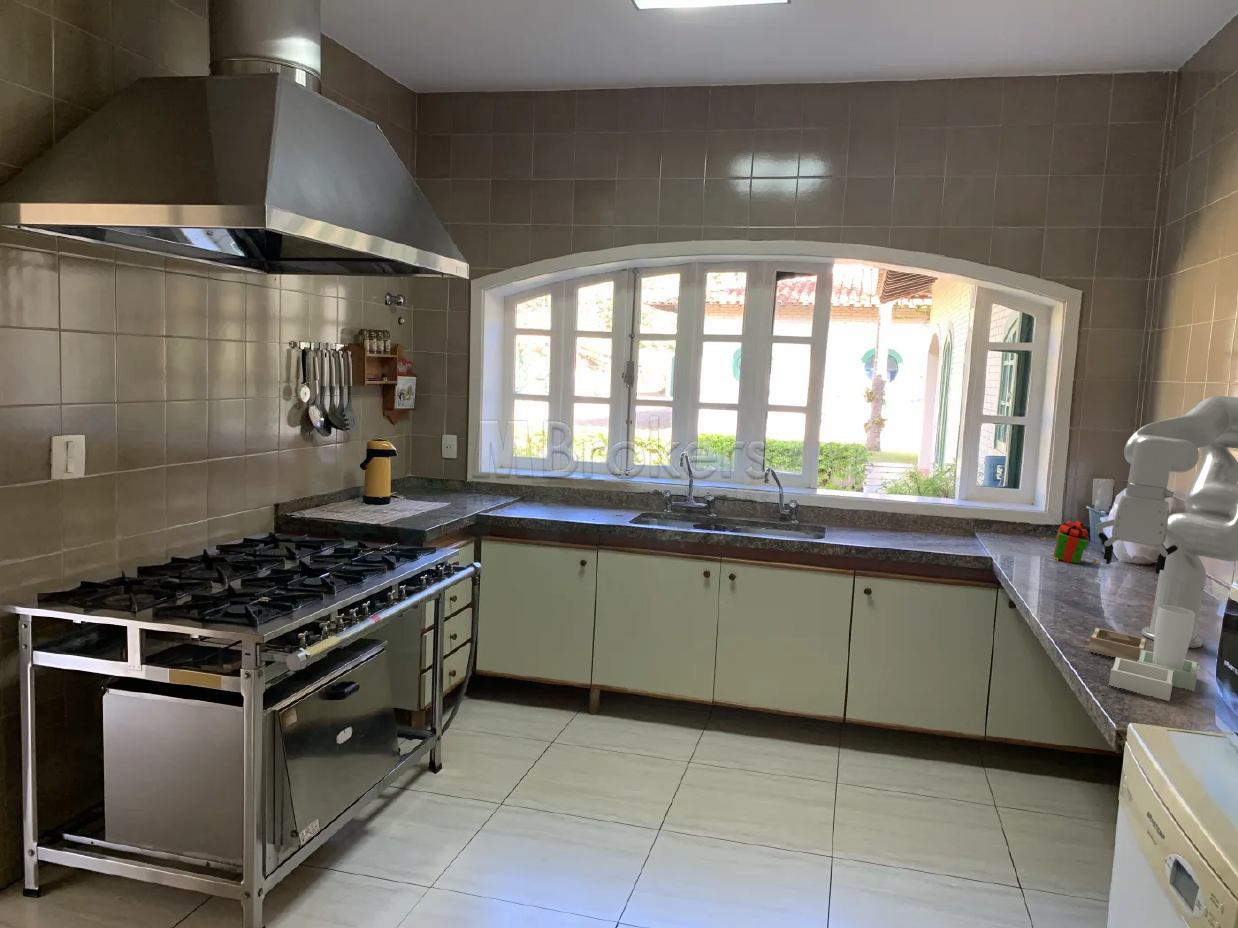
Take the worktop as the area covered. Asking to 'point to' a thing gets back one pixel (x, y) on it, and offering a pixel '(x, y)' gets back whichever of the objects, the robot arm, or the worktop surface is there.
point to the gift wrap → (1071, 542)
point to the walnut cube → (1118, 638)
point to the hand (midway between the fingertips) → (1132, 567)
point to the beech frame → (1116, 645)
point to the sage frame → (1175, 671)
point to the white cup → (1172, 636)
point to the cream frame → (1142, 678)
